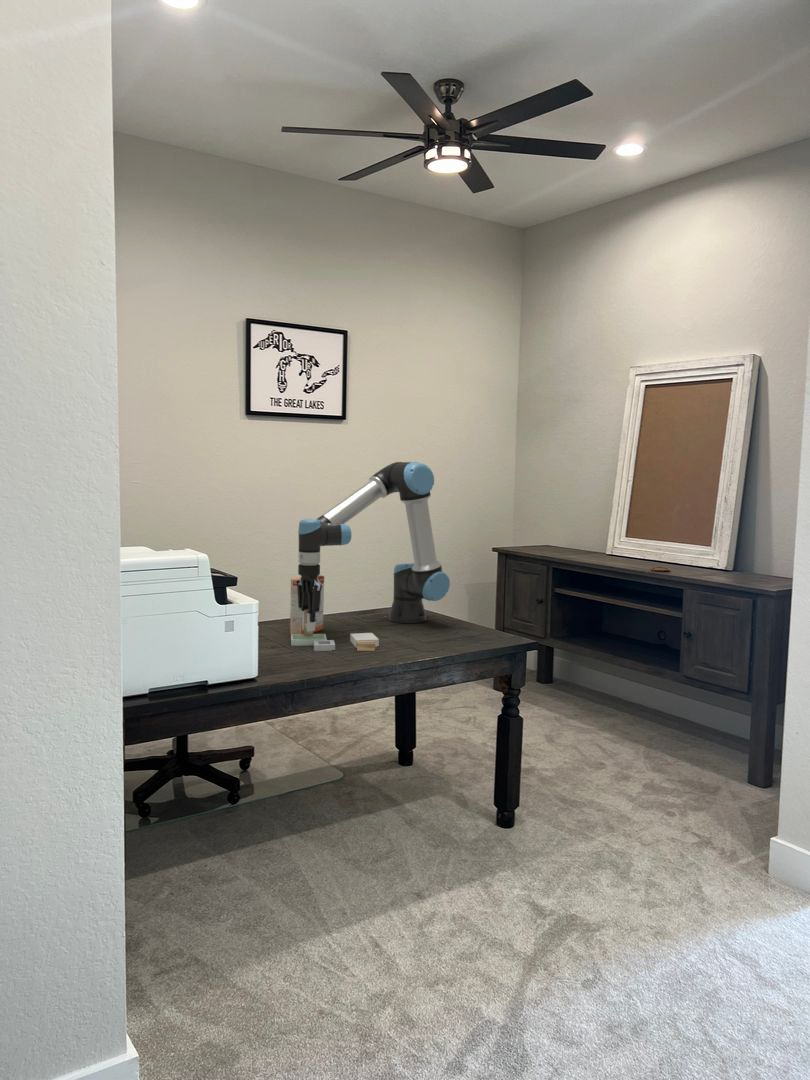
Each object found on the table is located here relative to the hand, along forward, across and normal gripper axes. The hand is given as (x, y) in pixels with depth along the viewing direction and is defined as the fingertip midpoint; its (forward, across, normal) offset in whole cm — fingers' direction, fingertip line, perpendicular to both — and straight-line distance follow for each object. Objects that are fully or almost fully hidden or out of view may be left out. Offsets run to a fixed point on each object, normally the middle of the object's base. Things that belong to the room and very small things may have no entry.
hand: (308, 629), depth 274 cm
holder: (+5, +10, 0) cm, 11 cm away
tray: (+5, 0, 0) cm, 5 cm away
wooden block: (+5, +19, +11) cm, 22 cm away
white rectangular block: (+5, +12, +16) cm, 20 cm away
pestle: (+2, 0, 0) cm, 2 cm away
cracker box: (+5, -14, +8) cm, 17 cm away
